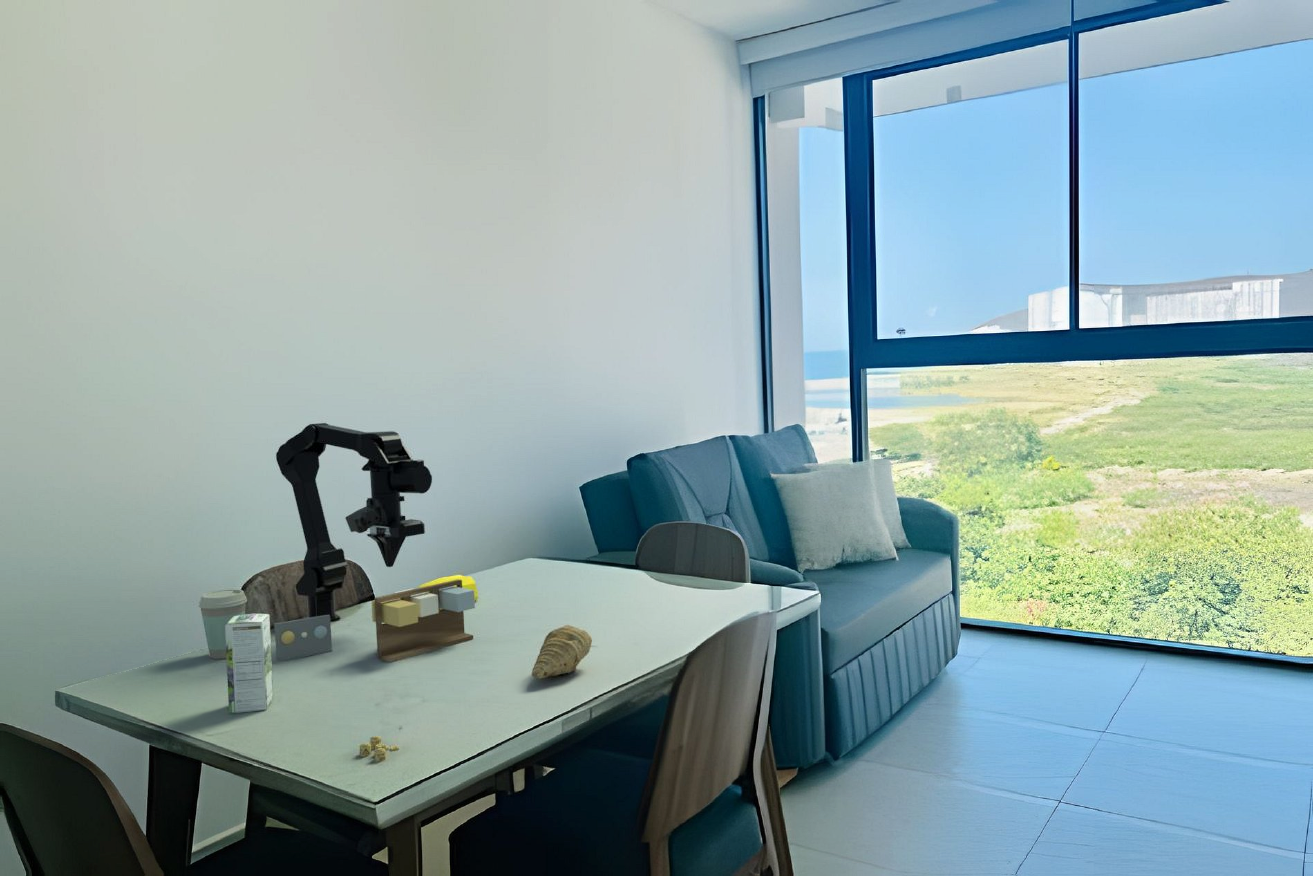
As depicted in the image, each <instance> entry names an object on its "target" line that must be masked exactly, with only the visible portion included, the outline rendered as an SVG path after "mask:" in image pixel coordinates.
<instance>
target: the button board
mask: <svg viewBox="0 0 1313 876" xmlns="http://www.w3.org/2000/svg"><path fill="white" fill-rule="evenodd" d="M451 586H457V587H460V588H462V580H459V579H458V580H453V581H449V582H444V583H440V584H435V585H431V586H426V587H422V588H419V587H418V588H413V590H408V589H407V590H408V591H404V592H399V591H398V592H399V593H395V594H393V593H391V594H386V595H381V596H377V597H374V600H375V617H376V622H375V630H376V631H375V632H376V649H377V650H376V651H377V659H378V658H379V659H378V660H380V659H381V661H383V660H385V661H384V662H387V663H393V662H396V661H395V660H397V661H400V659H401V660H403V659H402V658H404V659H407V658H411V657H414V656H417V655H421V654H426V653H429V652H432V651H436V650H440V649H442V647H443V648H446V647H450V646H453V645H457V643H458V644H461V643H464V642H467V641H471V640H474V634H472V633H471V634H470V633H466V632H465V616H464V615H465V614H464V612H465V611H461V612H455V611H451V610H446V609H441V610H440V597H439V589H442V588H447V587H451ZM425 592H429V593H431V594H435V595H438V611H439V613H436V614H432V615H428V616H424V617H418V622H417V623H413V624H409V625H405V626H401V627H398V626H394V625H390V624H386V623H382V618H381V602H385V601H389V600H394V599H398V598H400V600H403V601H408V602H411V596H412V595H416V594H420V593H425ZM460 642H461V643H460ZM435 649H436V650H435ZM428 651H429V652H428ZM410 656H411V657H410ZM392 661H393V662H392Z"/></svg>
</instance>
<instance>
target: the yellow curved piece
mask: <svg viewBox="0 0 1313 876" xmlns="http://www.w3.org/2000/svg"><path fill="white" fill-rule="evenodd" d="M458 579H459V580H462V588H465V589H470V590H474V600H475V602H476V600H477V599H478V598H479V594H478V589H477V583H476V581H475V580H474V578H472V577H471V575H469V576H468V575H467V576H465V575H461V574H455V575H451V576H444V577H439V578H437V579H434V580H431V581H428V582H425V583H423V584H420V586H419V587H418V588H422V587H426V586H431V585H435V584H440V583H444V582H449V581H453V580H458ZM455 587H457V586H455ZM426 593H429V592H426ZM441 609H442V608H440V610H441Z"/></svg>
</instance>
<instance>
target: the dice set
mask: <svg viewBox="0 0 1313 876" xmlns="http://www.w3.org/2000/svg"><path fill="white" fill-rule="evenodd" d="M372 750H373V751H374V752H373V754H374V761H375V762H378V763H379V762H383V761H386V759H387V751H388V750H389V746H388V745H387V744H384V743H382V737H381V736H380V735H375V736H372V737H370V738H369V742H367V743H362V744H360V745H359V756H360V757H369V756H371V755H372ZM399 750H400V747H399V745H398V744H397V745H391V746H390V751H391V752H393V751H394V752H395V751H399Z"/></svg>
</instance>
